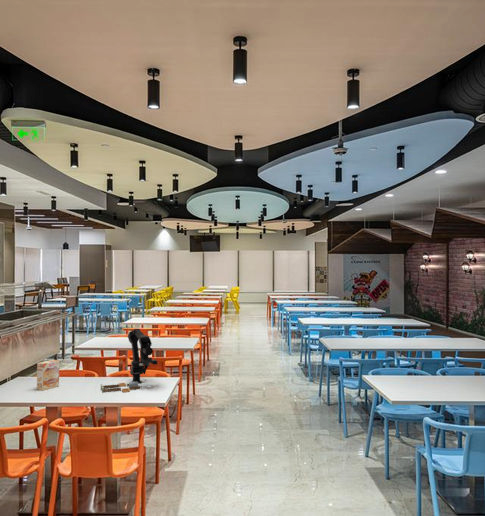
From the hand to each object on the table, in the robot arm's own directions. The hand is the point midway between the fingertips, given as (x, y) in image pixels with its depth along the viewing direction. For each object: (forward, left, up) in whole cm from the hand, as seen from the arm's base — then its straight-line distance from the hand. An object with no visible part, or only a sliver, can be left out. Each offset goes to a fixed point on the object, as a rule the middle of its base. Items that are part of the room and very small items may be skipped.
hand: (144, 374), depth 363 cm
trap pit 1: (-9, -15, -9) cm, 20 cm away
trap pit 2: (+9, -15, -9) cm, 20 cm away
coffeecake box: (-22, -67, -10) cm, 71 cm away
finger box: (0, -18, -9) cm, 20 cm away
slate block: (0, -8, -10) cm, 12 cm away
